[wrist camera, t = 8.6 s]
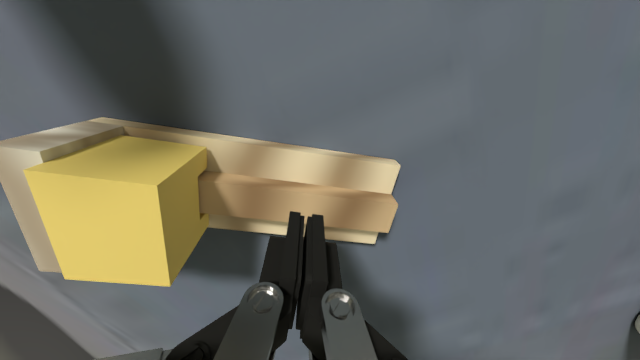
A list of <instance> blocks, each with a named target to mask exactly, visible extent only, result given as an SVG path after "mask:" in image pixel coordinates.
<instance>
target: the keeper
mask: <svg viewBox="0 0 640 360" xmlns="http://www.w3.org/2000/svg"><path fill="white" fill-rule="evenodd" d="M206 168H207V148H206V147H203V146H195V145H188V144H181V143H174V142H167V141H159V140H152V139H145V138H138V137H131V136H123V135H120V136H117V137H114V138H111V139H109V140H106V141H103V142H100V143H97V144H95V145H92V146H89V147H86V148H83V149H80V150H78V151H75V152H72V153H69V154H66V155H64V156H61V157H58V158H55V159H52V160H49V161H47V162H44V163H41V164H38V165H35V166H33V167H30V168H27V169H24V170H23V171H24V174H25V177H26V179H27V182H28V185H29V187H30V190H31V192H32V195H33V198H34V200H35V203H36V205H37V208H38V211H39V213H40V216H41V218H42V221H43V224H44V226H45V229H46V232H47V234H48V237H49V239H50V242H51V245H52V247H53V250H54V252H55V255H56V258H57V260H58V263H59V265H60V268H61V271H62V273H63V276H64V279H70V280H84V281H98V282H113V283H127V284H141V285H155V286H171V285H172V283H173V281H174V280H175V278H176V277H177V275H178V273H179V272H180V270H181V269H182V267H183V265H184V264H185V262H186V261H187V259H188V257H189V256H190V254H191V253H192V251H193V249H194V248H195V246H196V245H197V243H198V241H199V240H200V238H201V237H202V235H203V233H204V232H205V230H206V229H207V227H208V225H209V214H206V213H200V212H199V192H198V176H199V175H200V174H201V173H202V172H203V171H204V170H205V169H206Z"/></svg>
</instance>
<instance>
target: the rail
mask: <svg viewBox="0 0 640 360" xmlns="http://www.w3.org/2000/svg"><path fill="white" fill-rule="evenodd" d="M120 135H123V136H131V137H138V138H145V139H152V140H159V141H167V142H174V143H181V144H188V145H195V146H203V147H206V148H207V168H206V169H205V170H204V171H203V172H202V173H201V174H200V175H199V176H198V192H199V212H200V213H206V214H209V225H208V227H209V228H219V229H229V230H239V231H249V232H259V233H269V234H279V235H286V234H287V227H288V221H289V214H290V211H293V212H301V215H302V216H305V218H304V234H305V229H306V223H307V218H308V216H310V217H312V214H317V215H323V217H324V231H325V239H329V240H339V241H349V242H359V243H369V244H375V241H376V238H377V235H378V232H384V233H389V230H390V227H391V224H392V221H393V218H394V216H395V213H396V210H397V207H398V204H397V202H396V201H395V199H394V198H393V196H392V195H391V193H392V190H393V187H394V184H395V181H396V178H397V175H398V172H399V169H400V165H399V164H398V163H397V161H396V160H393V159H386V158H379V157H372V156H365V155H358V154H351V153H345V152H338V151H331V150H324V149H317V148H310V147H304V146H297V145H290V144H283V143H276V142H269V141H262V140H256V139H249V138H242V137H235V136H228V135H221V134H214V133H208V132H201V131H194V130H187V129H180V128H173V127H167V126H160V125H153V124H146V123H139V122H132V121H125V120H119V119H112V118H105V117H101V118H97V119H92V120H88V121H84V122H79V123H75V124H71V125H67V126H62V127H58V128H54V129H50V130H45V131H41V132H37V133H32V134H28V135H24V136H20V137H15V138H11V139H7V140H3V141H0V182H1V184H2V186H3V189H4V191H5V193H6V195H7V198H8V200H9V202H10V205H11V207H12V209H13V212H14V214H15V216H16V218H17V221H18V223H19V225H20V228H21V230H22V232H23V235H24V237H25V239H26V241H27V244H28V246H29V248H30V251H31V253H32V255H33V257H34V260H35V262H36V264H37V267H38V269H39V271H47V272H61V273H62V271H61V268H60V265H59V263H58V260H57V258H56V255H55V252H54V250H53V247H52V245H51V242H50V239H49V237H48V234H47V232H46V229H45V226H44V224H43V221H42V218H41V216H40V213H39V211H38V208H37V205H36V203H35V200H34V198H33V195H32V192H31V190H30V187H29V185H28V182H27V179H26V177H25V174H24V171H23V170H24V169H27V168H30V167H33V166H35V165H38V164H41V163H44V162H47V161H49V160H52V159H55V158H58V157H61V156H64V155H66V154H69V153H72V152H75V151H78V150H80V149H83V148H86V147H89V146H92V145H95V144H97V143H100V142H103V141H106V140H109V139H111V138H114V137H117V136H120Z"/></svg>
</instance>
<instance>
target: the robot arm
mask: <svg viewBox="0 0 640 360" xmlns="http://www.w3.org/2000/svg"><path fill="white" fill-rule="evenodd" d="M304 218H305V216H302V215H301V212H293V211H290V214H289V221H288V227H287V234H286V238H284V237H275V236H270V239H269V243H268V247H267V251H266V255H265V260H264V264H263V268H262V272H261V276H260V280H259V283H256V284H254V285H252V286H251V287H250V288H248V289H247V291H246V292H245V294H244V295H243V298H242V300H241V302H240V304H239V305H238V306H237V307H235V308H234V309H232V310H231V311H229V312H228V313H226V314H225V315H223V316H221V317H220V318H218V319H217V320H215V321H214V322H212V323H211V324H209V325H208V326H206V327H205V328H203V329H201V330H200V331H198V332H197V333H195V334H194V335H192V336H191V337H189V338H188V339H186V340H184V341H183V342H181V343H180V344H179V345H177V346H176V347H175V348H174V349H170V350H165V351H163V348H158V349H153V350H147V351H141V352H135V353H129V354H123V355H118V356H112V357H106V358H100V359H94V360H274V356H275V352H276V349H277V348H278V347H280V346H281V345H282V344H283V343H284V342H285V341H286V339H287V333H288V329H292V326H293V321H294V316H295V310H296V305H297V316H296V329H298V330H300V338H301V339H302V342H303V343H304V344H305V345H306V346H307V348H308V349H309V360H408V359H407V358H406V357H405V356H403V355H402V354H401V353H400V352H399V351H398V350H397V349H396V348H395V347H394V346H392V345H391V344H390V343H389V342H388V341H387V340H386V339H385V338H384V337H383V336H381V335H380V334H379V333H378V332H377V331H376V330H375V329H374V328H373V327H372V326H370V325H369V324H368V323H367V322H366V321H365V320H364V318H363V316H362V313H361V310H360V307H359V304H358V302H357V300H356V298H355V297H354V296H353V295H352V294H351V293H349V292H348V291H346V290H343V289H342V282H341V275H340V267H339V259H338V252H337V245H336V243H329V242H325V231H324V217H323V215H317V214H312V217H310V216H308V218H307V223H306V229H305V234H304ZM303 238H304V240H303Z"/></svg>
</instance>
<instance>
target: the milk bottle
mask: <svg viewBox="0 0 640 360" xmlns="http://www.w3.org/2000/svg"><path fill="white" fill-rule="evenodd" d="M635 327H636V329H637V331H638V332H639V333H640V315H639V316H638V317H637V319H636V321H635Z"/></svg>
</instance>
